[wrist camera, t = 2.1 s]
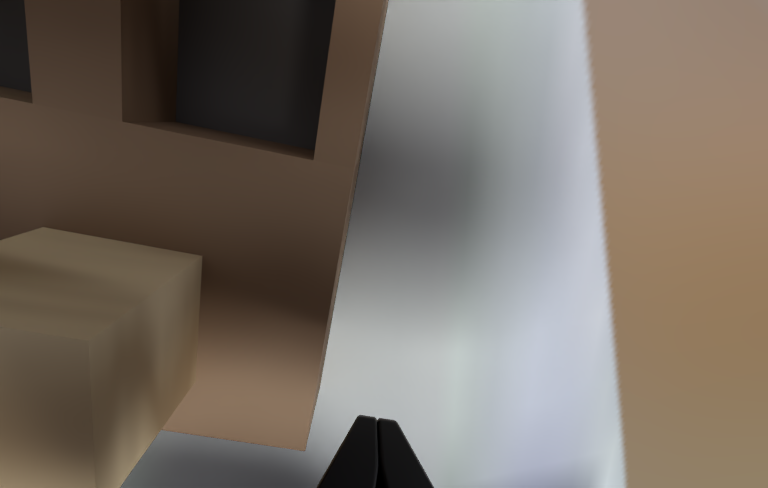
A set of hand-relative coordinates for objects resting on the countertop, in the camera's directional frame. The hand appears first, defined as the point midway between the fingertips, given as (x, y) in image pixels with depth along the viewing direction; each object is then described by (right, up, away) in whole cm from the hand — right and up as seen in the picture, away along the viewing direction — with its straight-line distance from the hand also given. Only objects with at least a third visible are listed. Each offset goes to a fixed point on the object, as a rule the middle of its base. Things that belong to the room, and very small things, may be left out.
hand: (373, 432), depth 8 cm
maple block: (-7, +2, +2) cm, 8 cm away
